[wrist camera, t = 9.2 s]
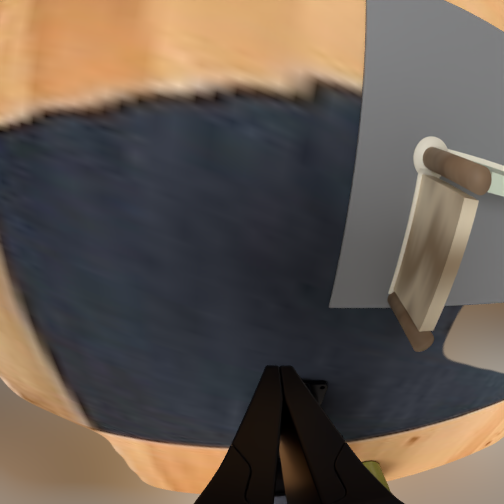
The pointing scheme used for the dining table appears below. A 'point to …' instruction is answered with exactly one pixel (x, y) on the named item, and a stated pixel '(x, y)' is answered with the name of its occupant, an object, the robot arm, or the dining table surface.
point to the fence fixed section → (436, 243)
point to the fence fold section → (496, 181)
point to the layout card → (422, 145)
